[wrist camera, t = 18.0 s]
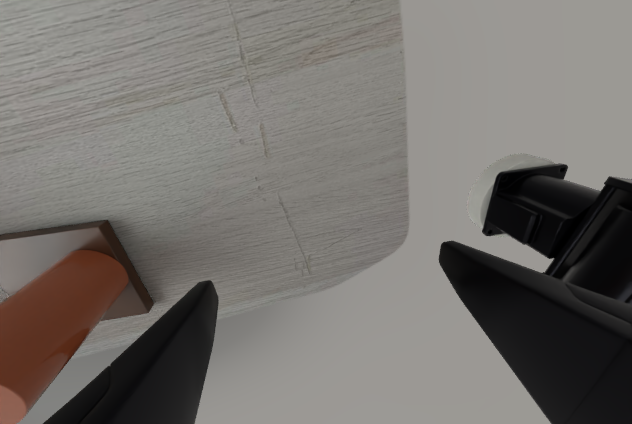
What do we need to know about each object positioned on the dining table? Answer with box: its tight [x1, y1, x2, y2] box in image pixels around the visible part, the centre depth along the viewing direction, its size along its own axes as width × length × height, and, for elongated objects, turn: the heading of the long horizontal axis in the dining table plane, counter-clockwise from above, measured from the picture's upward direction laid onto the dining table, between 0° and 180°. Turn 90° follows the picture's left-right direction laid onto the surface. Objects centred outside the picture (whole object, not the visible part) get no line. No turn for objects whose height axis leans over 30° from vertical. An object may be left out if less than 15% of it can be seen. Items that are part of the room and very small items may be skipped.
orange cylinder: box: [0, 250, 128, 424], centre depth 17 cm, size 5×5×10 cm
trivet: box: [0, 220, 154, 321], centre depth 22 cm, size 10×10×1 cm
